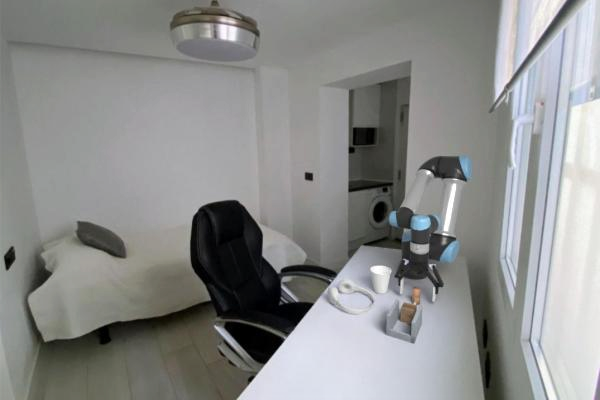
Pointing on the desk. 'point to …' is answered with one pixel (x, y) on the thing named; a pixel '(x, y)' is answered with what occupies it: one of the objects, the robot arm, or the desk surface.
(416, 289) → the tethered block
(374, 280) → the cup
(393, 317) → the lane
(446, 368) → the desk surface
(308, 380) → the desk surface
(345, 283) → the headphones
